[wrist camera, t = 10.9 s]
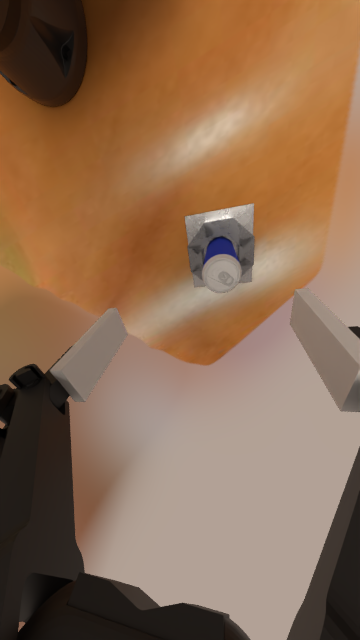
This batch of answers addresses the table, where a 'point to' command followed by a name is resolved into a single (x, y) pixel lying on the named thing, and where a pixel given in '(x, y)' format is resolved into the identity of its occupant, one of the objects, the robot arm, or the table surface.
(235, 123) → the table surface
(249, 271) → the socket
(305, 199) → the table surface
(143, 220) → the table surface
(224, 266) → the beverage can
